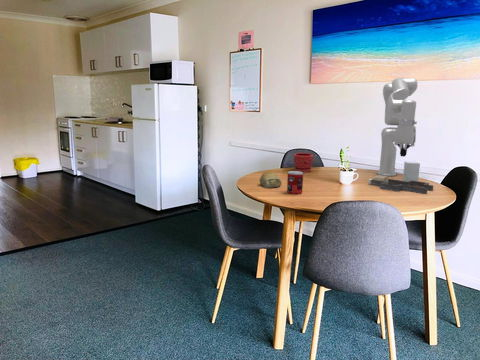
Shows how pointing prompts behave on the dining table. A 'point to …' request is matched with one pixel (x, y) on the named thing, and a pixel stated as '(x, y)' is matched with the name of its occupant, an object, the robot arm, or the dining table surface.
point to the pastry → (270, 180)
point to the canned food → (295, 182)
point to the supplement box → (411, 171)
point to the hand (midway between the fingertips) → (402, 156)
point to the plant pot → (303, 161)
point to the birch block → (381, 178)
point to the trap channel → (402, 185)
